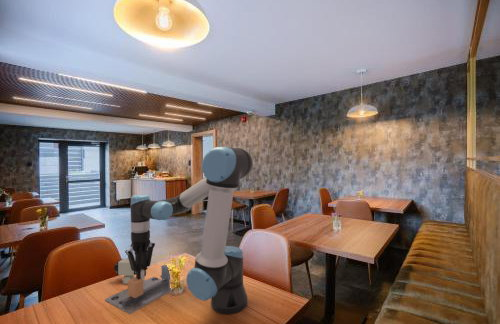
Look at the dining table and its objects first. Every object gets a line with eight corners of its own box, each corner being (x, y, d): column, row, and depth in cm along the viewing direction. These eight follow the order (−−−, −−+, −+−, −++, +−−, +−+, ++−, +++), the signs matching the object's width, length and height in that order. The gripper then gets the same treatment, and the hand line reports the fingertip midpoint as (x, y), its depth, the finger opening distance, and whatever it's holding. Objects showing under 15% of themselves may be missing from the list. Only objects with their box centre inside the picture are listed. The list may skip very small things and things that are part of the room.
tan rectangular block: (143, 298, 105) (143, 279, 105) (134, 302, 101) (134, 283, 101) (134, 294, 108) (134, 276, 108) (126, 298, 105) (125, 280, 105)
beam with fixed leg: (172, 284, 118) (171, 266, 118) (126, 308, 99) (126, 287, 99) (163, 280, 121) (163, 264, 121) (118, 303, 102) (117, 283, 102)
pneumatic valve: (138, 284, 119) (137, 260, 119) (114, 284, 119) (113, 260, 119) (143, 279, 125) (143, 255, 125) (120, 279, 125) (120, 255, 125)
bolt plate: (177, 287, 116) (177, 285, 116) (129, 314, 96) (129, 312, 96) (153, 278, 126) (153, 276, 126) (105, 300, 106) (105, 298, 106)
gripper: (148, 226, 114) (149, 276, 114) (121, 233, 103) (121, 289, 103) (158, 228, 110) (159, 280, 110) (131, 235, 99) (132, 294, 99)
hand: (141, 284), depth 107 cm, fingers closed
